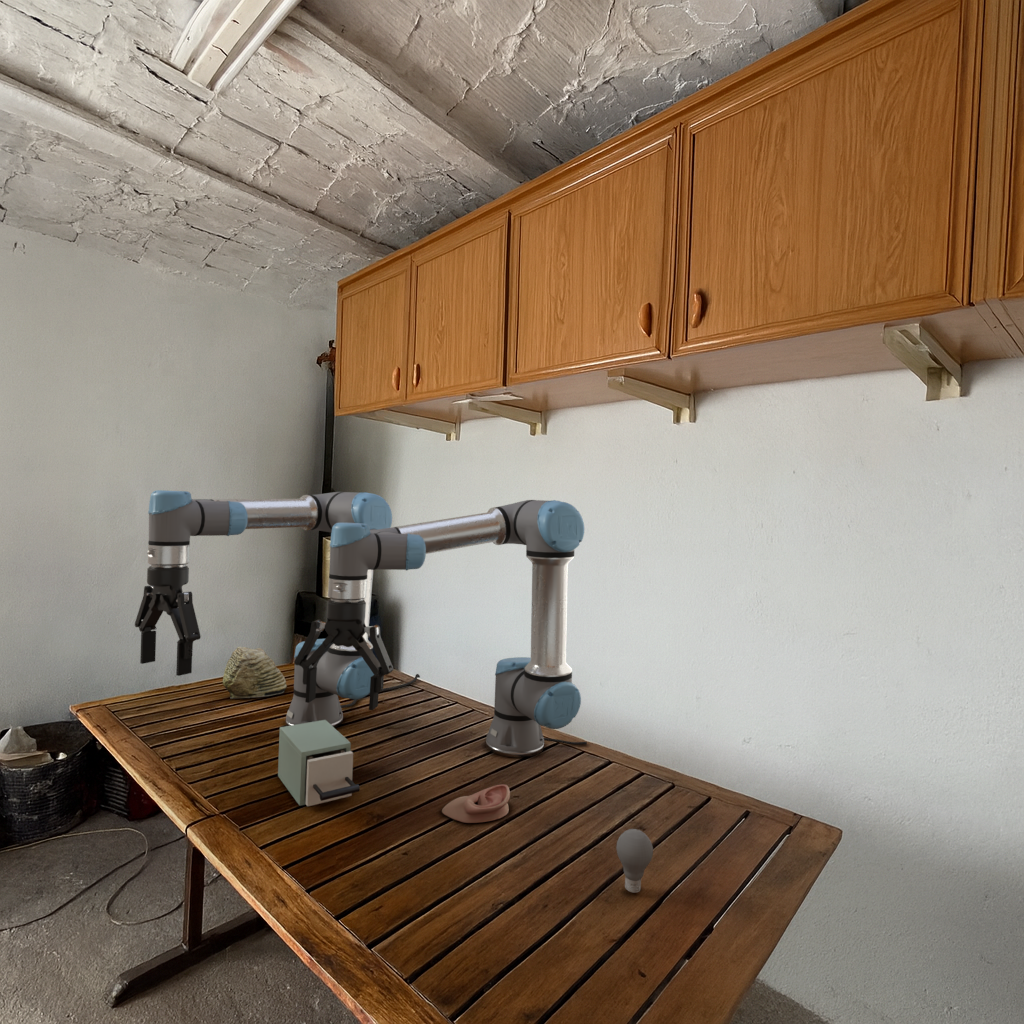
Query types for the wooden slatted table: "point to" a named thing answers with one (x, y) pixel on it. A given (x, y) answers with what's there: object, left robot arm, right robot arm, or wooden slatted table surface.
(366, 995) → the wooden slatted table surface
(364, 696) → the left robot arm
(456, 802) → the anatomical model
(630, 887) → the light bulb
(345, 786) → the drawer
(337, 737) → the cabinet
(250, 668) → the fossil
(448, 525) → the right robot arm
